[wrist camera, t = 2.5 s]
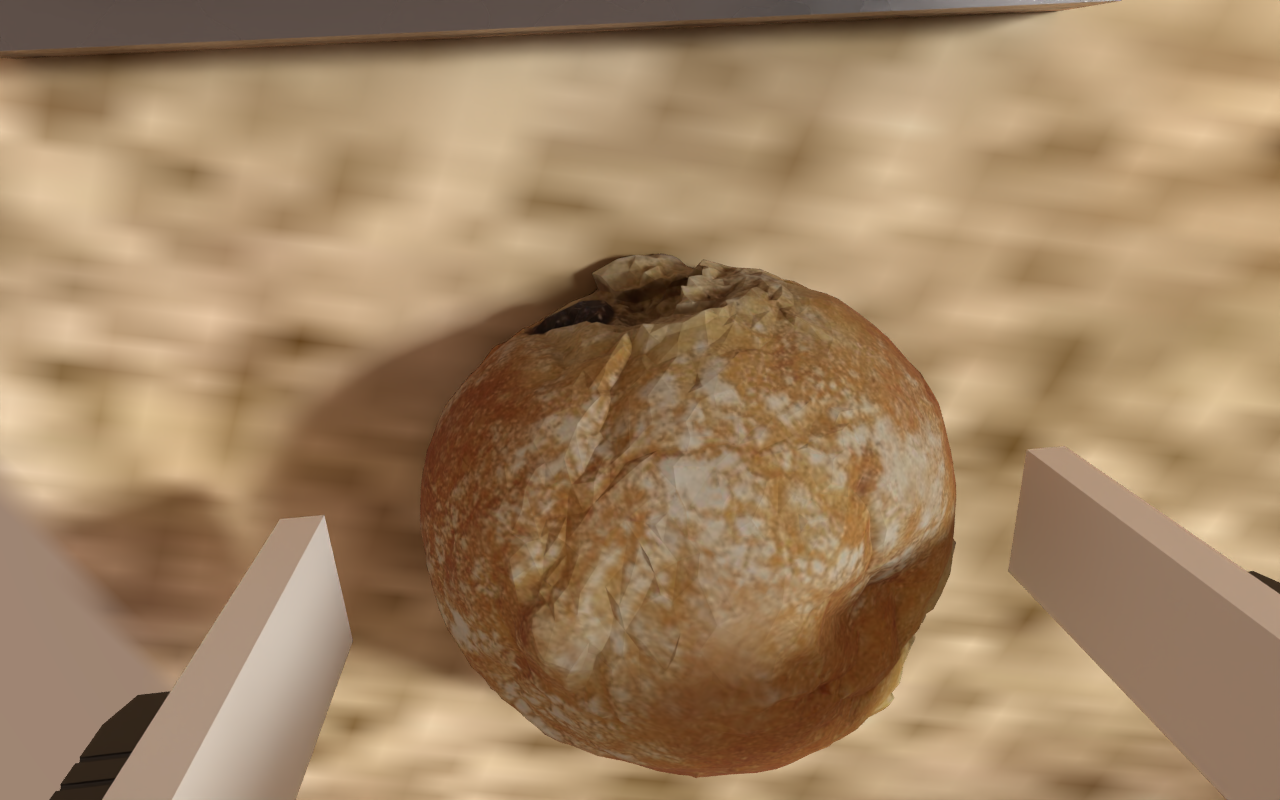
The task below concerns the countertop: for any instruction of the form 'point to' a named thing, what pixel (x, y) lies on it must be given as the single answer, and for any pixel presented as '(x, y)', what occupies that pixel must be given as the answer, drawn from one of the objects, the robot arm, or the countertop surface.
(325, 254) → the countertop surface
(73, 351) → the countertop surface
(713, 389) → the bread roll
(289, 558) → the robot arm
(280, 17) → the cooling rack
